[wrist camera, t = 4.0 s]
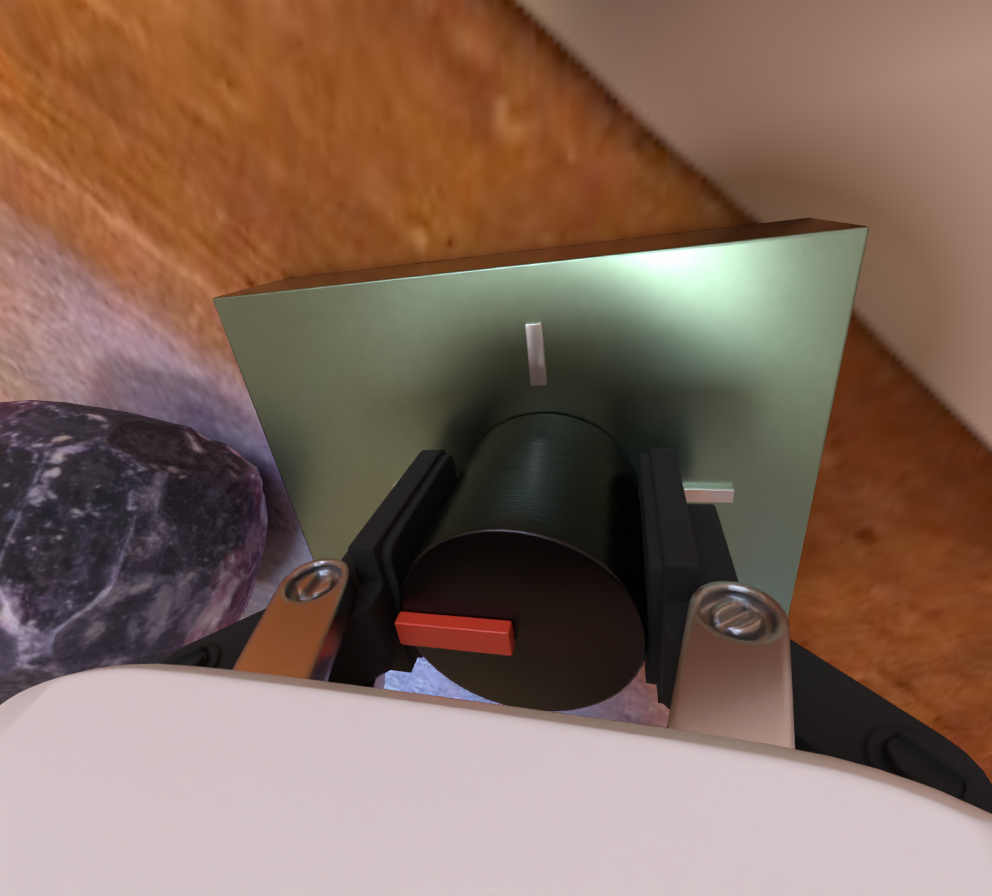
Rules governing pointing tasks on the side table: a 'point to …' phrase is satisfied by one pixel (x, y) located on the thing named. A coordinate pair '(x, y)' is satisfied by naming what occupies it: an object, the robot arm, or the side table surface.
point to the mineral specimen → (117, 539)
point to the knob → (534, 570)
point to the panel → (565, 370)
